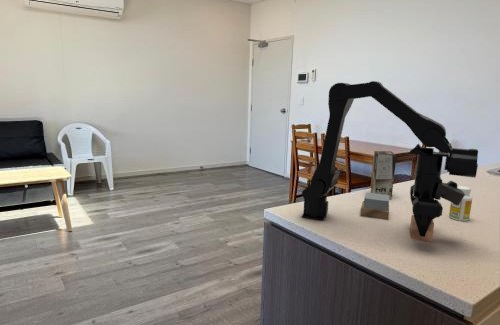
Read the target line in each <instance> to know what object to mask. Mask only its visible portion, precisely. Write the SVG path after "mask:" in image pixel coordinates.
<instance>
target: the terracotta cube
mask: <svg viewBox="0 0 500 325" xmlns="http://www.w3.org/2000/svg"><path fill="white" fill-rule="evenodd" d="M434 222H435V221H434V219H433V220H432V221H431V223H430V226H429V228H428V230H427V232H426V235H425V237H422V236H420V235H419V231H418V228H417V224H416V221H415V218H414V215H413V214H411V218H410V226H409V239H411V240H414V241H415V240H416V241H420V242H421V241H422V242H429V243H433V236H434V235H433V234H434V228H435V223H434Z"/></svg>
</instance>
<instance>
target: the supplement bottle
mask: <svg viewBox="0 0 500 325" xmlns="http://www.w3.org/2000/svg"><path fill="white" fill-rule="evenodd" d="M457 189H460V190H461V191H463V192H464V194H465V196H464V197H463V199H462V201H461V202H460V204H459V205H455V204H453V203H452V202H450V206H449V215H448V216H449V218H450V219H453V220H456V221H458V222H459V221H460V222H461V221H462V222H467V221H469V220H470V216H471V212H472V204H473V197H472V195H471V192H472V189H471V187H469V186H464V185H463V186H462V185H457Z"/></svg>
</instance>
